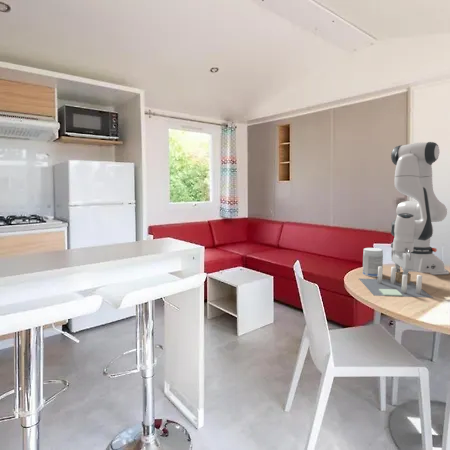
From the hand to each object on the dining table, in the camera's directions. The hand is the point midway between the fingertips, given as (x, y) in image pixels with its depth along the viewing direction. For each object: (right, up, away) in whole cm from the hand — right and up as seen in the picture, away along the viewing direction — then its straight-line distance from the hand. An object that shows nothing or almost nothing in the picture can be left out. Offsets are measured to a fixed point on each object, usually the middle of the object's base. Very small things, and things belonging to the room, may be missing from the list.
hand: (401, 274), depth 165 cm
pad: (-13, -6, -17) cm, 22 cm away
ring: (+1, -3, 0) cm, 3 cm away
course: (-8, -6, -8) cm, 13 cm away
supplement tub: (-8, -3, +14) cm, 16 cm away
